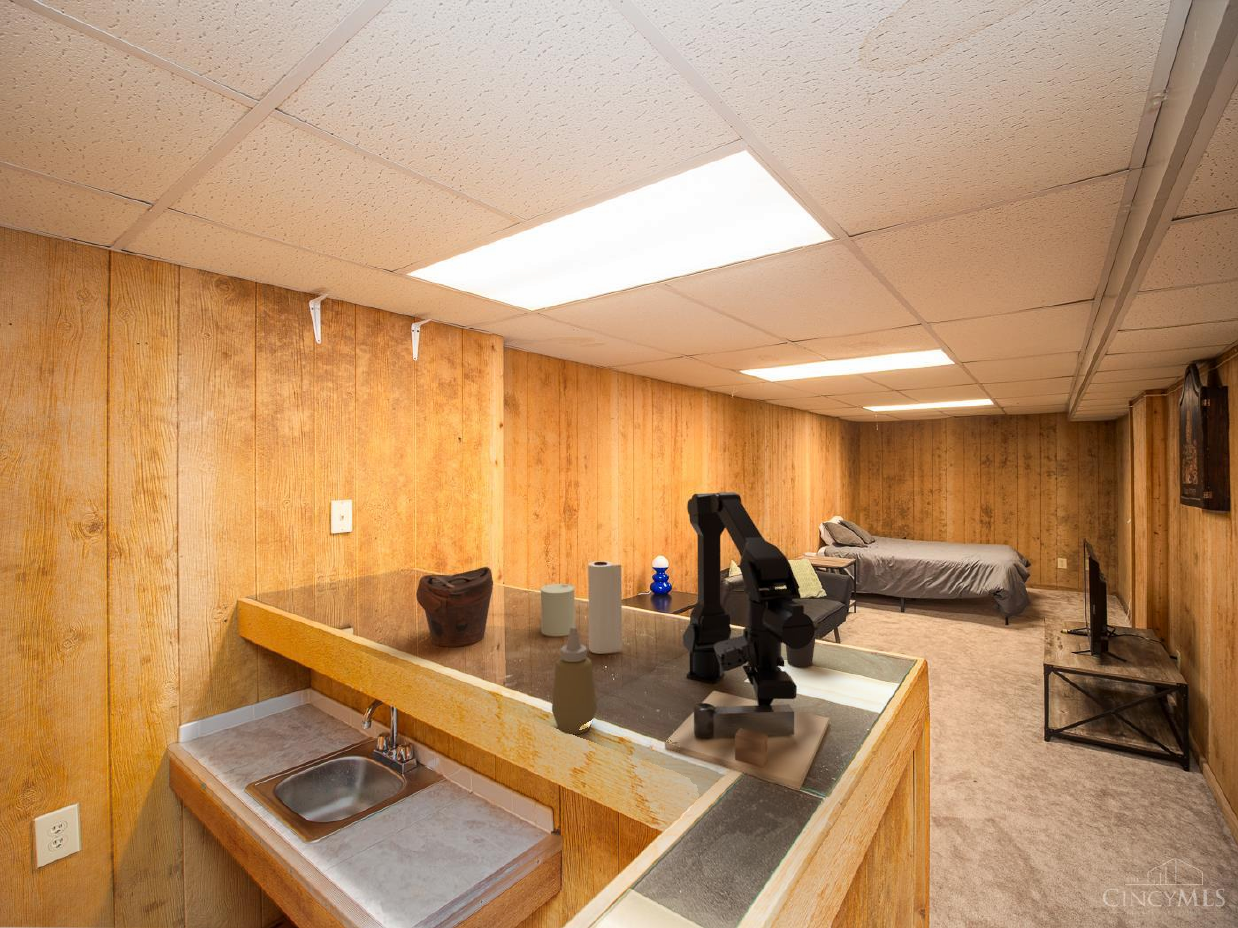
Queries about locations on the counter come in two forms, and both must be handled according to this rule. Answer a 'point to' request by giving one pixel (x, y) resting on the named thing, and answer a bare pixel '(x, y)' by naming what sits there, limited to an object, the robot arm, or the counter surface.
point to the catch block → (751, 747)
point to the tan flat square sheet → (783, 751)
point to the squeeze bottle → (573, 687)
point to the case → (456, 606)
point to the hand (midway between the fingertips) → (762, 712)
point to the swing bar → (742, 720)
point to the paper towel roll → (605, 607)
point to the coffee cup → (802, 653)
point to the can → (557, 609)
